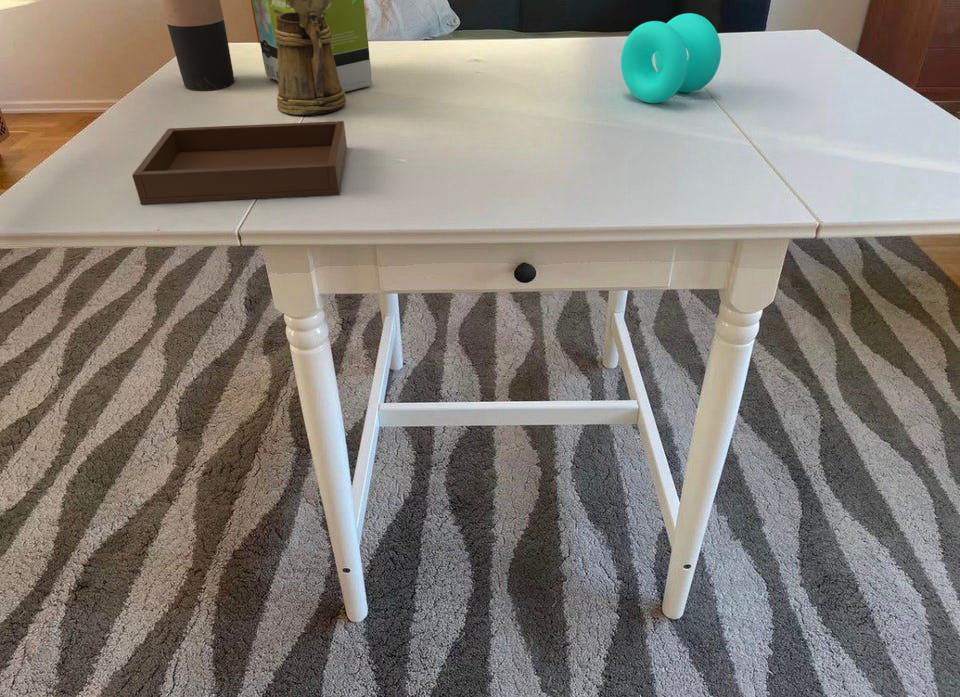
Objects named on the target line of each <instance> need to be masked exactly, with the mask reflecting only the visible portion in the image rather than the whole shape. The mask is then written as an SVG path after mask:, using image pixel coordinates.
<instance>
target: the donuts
mask: <svg viewBox="0 0 960 697" xmlns="http://www.w3.org/2000/svg"><path fill="white" fill-rule="evenodd" d="M653 58H654V63H655V66H654V63H653ZM721 60H722V44H721V40H720V36H719V33H718V32H717V30H716V28H715V26H714V25H713V24H712V23H711V22H710V20H709V19H707V18H706V17H704V16H702V15H700V14H697V13H693V12H686V13H681V14H678V15H676V16H674V17H673V18H671V19H670V20H668V21H667V22H664V21H658V20H651V21H646V22H643V23H641V24H640V25H638V26H636V27H635V28H634V29H633V30H632V31H631V32H630V33H629V35H628V36H627V38H626V39H625V41H624V44H623V46H622V50H621V55H620V71H621V76H622V78H623V81H624V83H625V86H626V87H627V89H628V90H629V92H630V93H631V95H633V96H634V97H635V98H637V99H638V100H640V101H642V102H644V103H649V104H659V103H663V102H666V101H668V100H670V99H671V98H672V97H673V96H675V94H676V93H678V92H679V93H685V94H687V93H688V94H689V93H693V92H697V91H699V90H701V89H703V88H705V87H706V86H707V85H708V84H709V83H711V81H712V80H713V78H714V77H715V76H716V74H717V71H718V68H719V67H720V63H721ZM655 68H656V69H655Z"/></svg>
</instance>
